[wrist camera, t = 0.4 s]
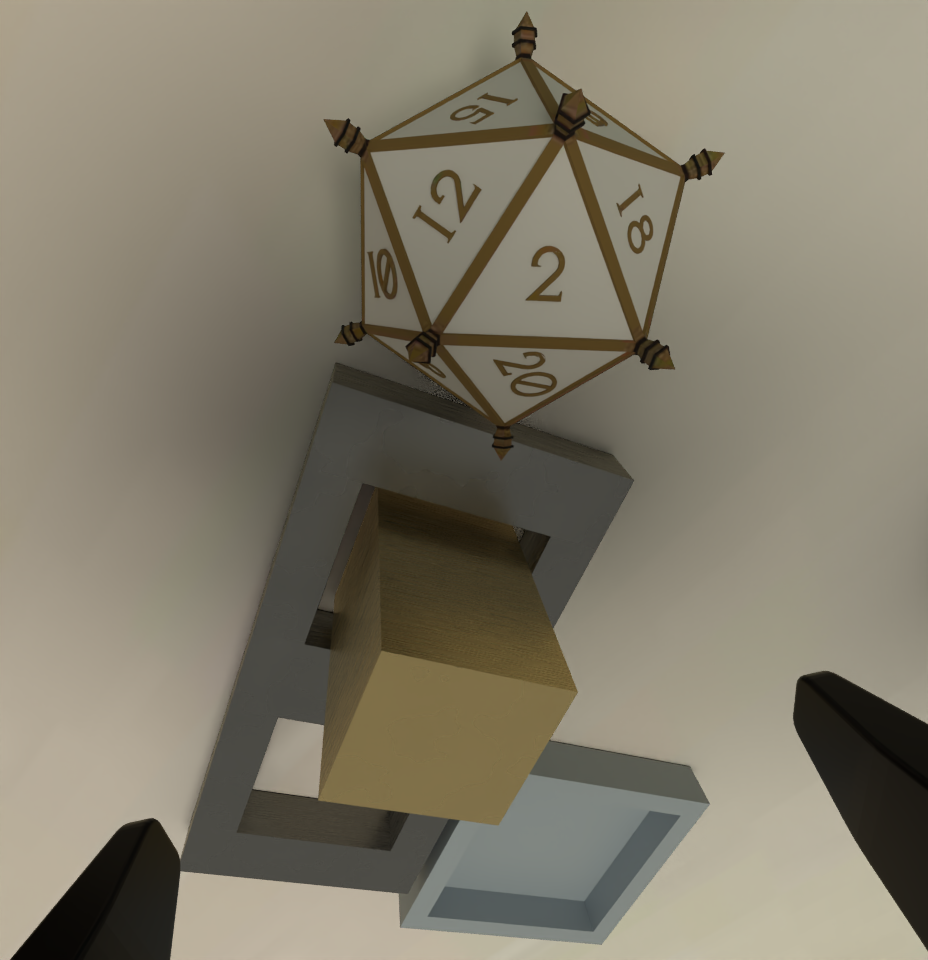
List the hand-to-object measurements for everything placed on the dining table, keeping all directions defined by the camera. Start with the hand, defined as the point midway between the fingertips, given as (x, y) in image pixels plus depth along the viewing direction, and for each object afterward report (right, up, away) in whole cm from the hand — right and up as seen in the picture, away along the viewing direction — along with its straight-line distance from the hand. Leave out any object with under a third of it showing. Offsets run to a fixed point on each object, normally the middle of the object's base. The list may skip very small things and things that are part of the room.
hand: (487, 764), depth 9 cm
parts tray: (+4, -13, +22) cm, 26 cm away
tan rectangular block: (-2, +1, +14) cm, 15 cm away
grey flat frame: (-4, -3, +16) cm, 17 cm away
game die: (0, +11, +10) cm, 15 cm away
